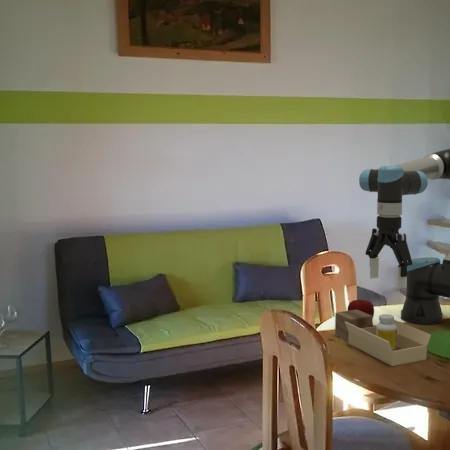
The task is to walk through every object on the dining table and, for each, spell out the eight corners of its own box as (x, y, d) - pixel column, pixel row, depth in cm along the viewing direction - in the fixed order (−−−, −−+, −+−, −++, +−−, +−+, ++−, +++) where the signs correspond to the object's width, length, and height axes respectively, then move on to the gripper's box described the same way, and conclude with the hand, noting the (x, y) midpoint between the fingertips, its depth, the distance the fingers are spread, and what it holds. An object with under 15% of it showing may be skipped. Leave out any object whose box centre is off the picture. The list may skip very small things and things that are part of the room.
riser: (356, 331, 225) (357, 309, 224) (372, 338, 217) (372, 316, 216) (335, 334, 222) (335, 312, 221) (350, 342, 214) (350, 319, 213)
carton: (384, 337, 219) (384, 315, 218) (430, 358, 198) (431, 334, 197) (344, 344, 212) (344, 321, 211) (387, 366, 191) (388, 341, 190)
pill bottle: (396, 355, 201) (397, 319, 200) (375, 354, 203) (376, 318, 201) (395, 348, 208) (396, 313, 206) (375, 347, 209) (376, 313, 207)
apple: (364, 321, 237) (365, 295, 235) (379, 328, 228) (380, 301, 227) (342, 324, 234) (342, 298, 232) (356, 332, 225) (356, 304, 223)
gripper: (355, 212, 208) (354, 275, 211) (405, 221, 186) (403, 292, 189) (374, 210, 211) (373, 273, 214) (426, 219, 189) (423, 289, 192)
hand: (387, 282), depth 202 cm, fingers open, 13 cm apart
